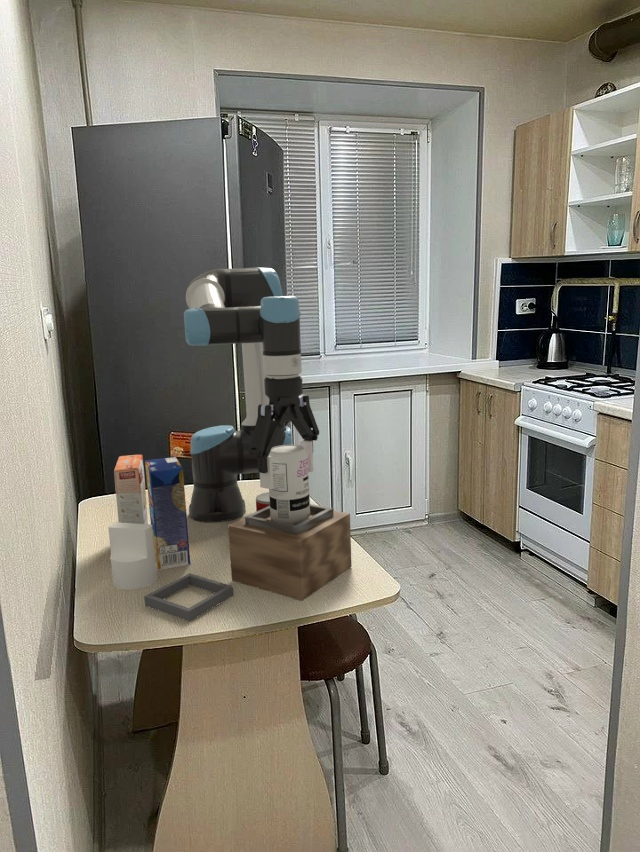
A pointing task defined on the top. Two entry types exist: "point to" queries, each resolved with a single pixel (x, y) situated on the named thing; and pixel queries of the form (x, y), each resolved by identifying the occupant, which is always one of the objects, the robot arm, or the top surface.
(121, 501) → the cracker box
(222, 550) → the top surface
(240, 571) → the riser block
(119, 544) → the cylinder with rectangular tab
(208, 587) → the base frame
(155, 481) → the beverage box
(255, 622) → the top surface
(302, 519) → the supplement can
